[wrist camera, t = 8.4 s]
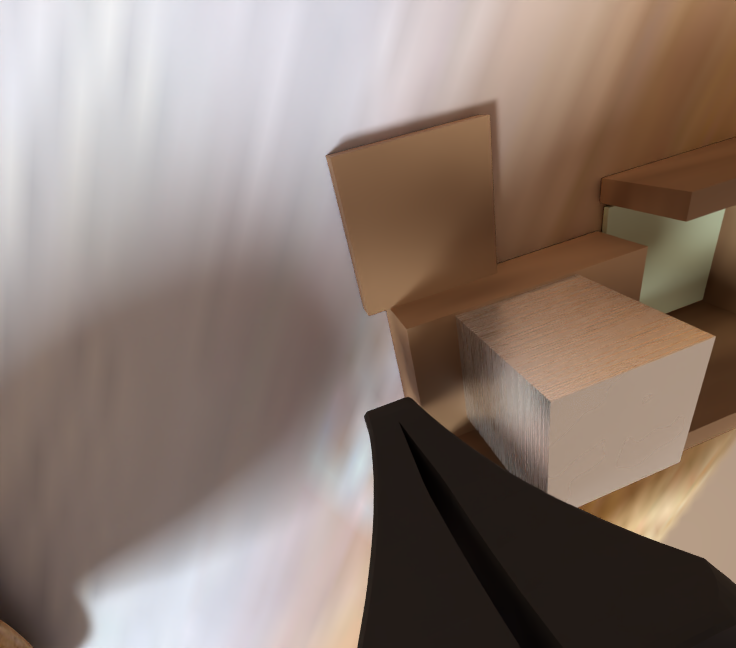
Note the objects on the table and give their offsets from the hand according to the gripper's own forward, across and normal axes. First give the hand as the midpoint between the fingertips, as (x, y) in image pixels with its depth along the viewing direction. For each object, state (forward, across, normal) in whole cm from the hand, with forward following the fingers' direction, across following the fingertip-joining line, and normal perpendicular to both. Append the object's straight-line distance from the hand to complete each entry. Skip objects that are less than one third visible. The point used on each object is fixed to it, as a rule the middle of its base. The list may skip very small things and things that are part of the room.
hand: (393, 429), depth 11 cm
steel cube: (+1, -5, 0) cm, 5 cm away
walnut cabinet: (+3, -8, -2) cm, 9 cm away
